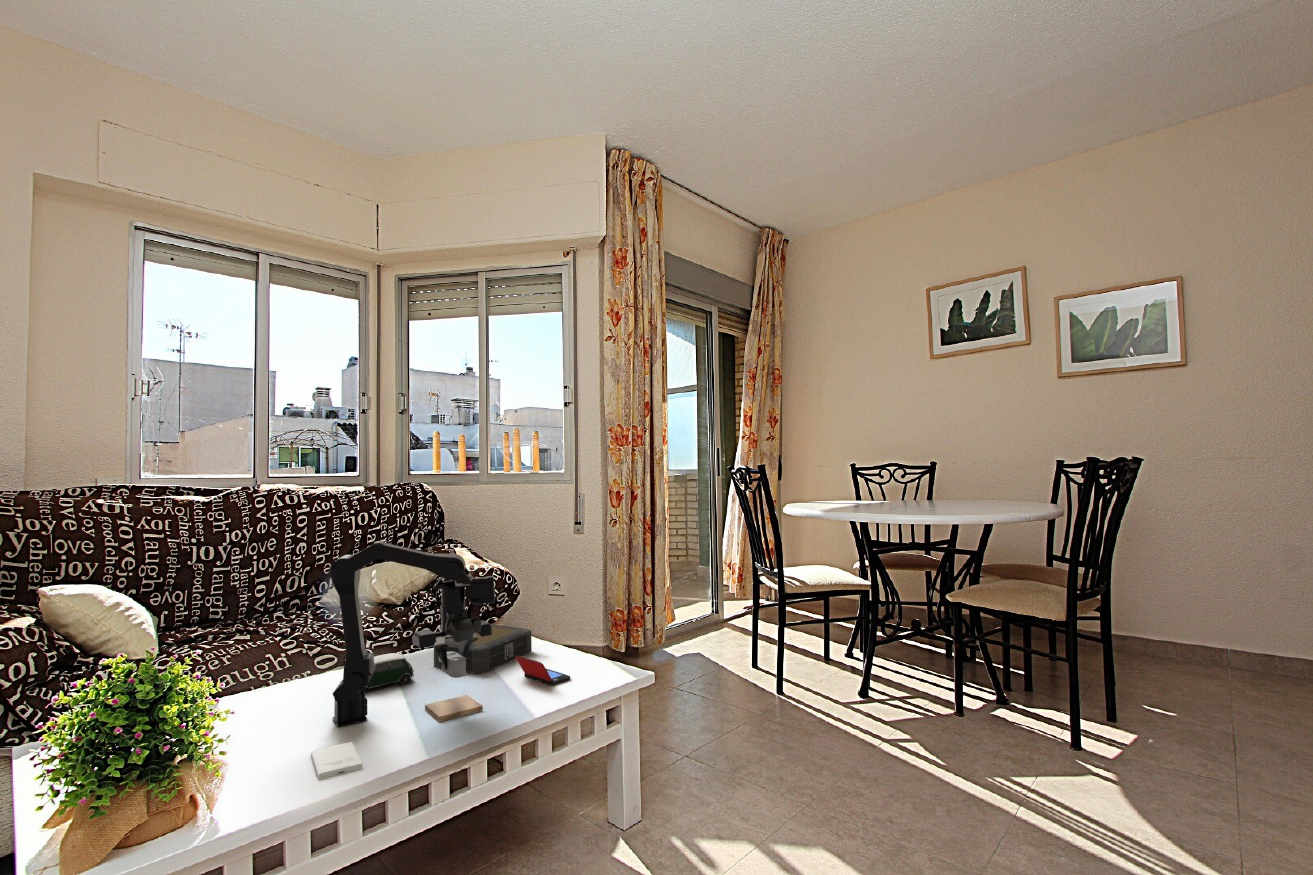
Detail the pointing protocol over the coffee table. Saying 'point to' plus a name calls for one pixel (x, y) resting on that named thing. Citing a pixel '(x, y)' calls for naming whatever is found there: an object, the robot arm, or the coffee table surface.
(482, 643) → the cash box
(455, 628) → the robot arm
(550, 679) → the handheld game console
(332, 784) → the coffee table surface
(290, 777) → the coffee table surface
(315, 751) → the external hard drive
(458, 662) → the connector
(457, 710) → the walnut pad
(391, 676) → the miniature car
